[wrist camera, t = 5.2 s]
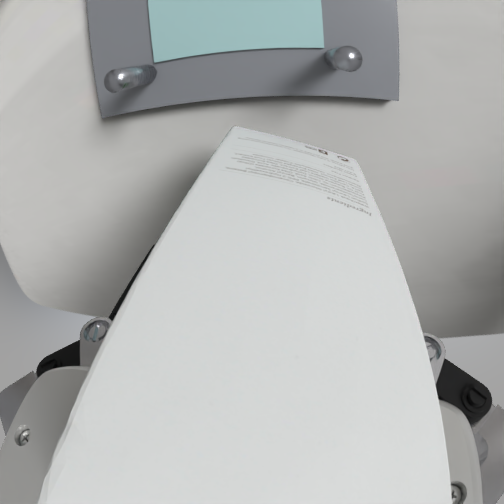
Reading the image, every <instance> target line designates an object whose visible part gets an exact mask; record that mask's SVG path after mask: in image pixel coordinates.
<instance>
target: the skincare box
mask: <svg viewBox="0 0 504 504" xmlns="http://www.w3.org/2000/svg"><path fill="white" fill-rule="evenodd" d="M36 504H452V495H451V483H450V473H449V464H448V456H447V449H446V442H445V435H444V428H443V422H442V416H441V411H440V405H439V400H438V395H437V390H436V385H435V381H434V376H433V372H432V368H431V363H430V359H429V355H428V351H427V348H426V344H425V340H424V336H423V333H422V329H421V326H420V322H419V319H418V316H417V312H416V309H415V306H414V303H413V300H412V297H411V294H410V291H409V288H408V285H407V282H406V279H405V276H404V273H403V271H402V268H401V265H400V262H399V259H398V257H397V254H396V251H395V249H394V246H393V244H392V241H391V238H390V236H389V233H388V231H387V228H386V226H385V224H384V221H383V219H382V216H381V214H380V212H379V209H378V207H377V205H376V202H375V200H374V198H373V195H372V193H371V191H370V189H369V187H368V184H367V182H366V180H365V177H364V175H363V173H362V171H361V169H360V167H359V165H358V163H357V161H356V160H355V159H353V158H350V157H347V156H344V155H341V154H338V153H335V152H332V151H329V150H326V149H323V148H319V147H316V146H313V145H309V144H306V143H302V142H299V141H295V140H292V139H288V138H284V137H280V136H276V135H273V134H269V133H264V132H260V131H256V130H252V129H247V128H243V127H238V126H233V127H232V128H231V130H230V131H229V132H228V134H227V135H226V137H225V138H224V139H223V141H222V142H221V144H220V145H219V147H218V148H217V150H216V151H215V152H214V154H213V155H212V157H211V158H210V160H209V161H208V163H207V164H206V166H205V167H204V169H203V170H202V172H201V173H200V175H199V176H198V178H197V179H196V181H195V182H194V184H193V185H192V187H191V188H190V190H189V192H188V193H187V194H186V196H185V197H184V199H183V201H182V202H181V204H180V206H179V207H178V209H177V210H176V212H175V213H174V215H173V217H172V218H171V220H170V222H169V223H168V225H167V226H166V228H165V230H164V231H163V233H162V234H161V236H160V238H159V239H158V241H157V243H156V244H155V246H154V248H153V249H152V251H151V253H150V255H149V256H148V258H147V260H146V262H145V263H144V265H143V267H142V269H141V270H140V272H139V274H138V275H137V277H136V279H135V281H134V282H133V284H132V286H131V288H130V290H129V292H128V294H127V295H126V297H125V299H124V301H123V303H122V305H121V307H120V308H119V310H118V312H117V314H116V316H115V318H114V320H113V321H112V323H111V325H110V327H109V329H108V331H107V333H106V335H105V337H104V339H103V341H102V344H101V346H100V348H99V350H98V352H97V354H96V356H95V358H94V360H93V362H92V364H91V366H90V368H89V370H88V373H87V375H86V377H85V379H84V381H83V383H82V386H81V388H80V390H79V393H78V395H77V397H76V400H75V402H74V405H73V407H72V410H71V413H70V415H69V418H68V420H67V423H66V426H65V428H64V430H63V432H62V434H61V436H60V438H59V440H58V442H57V444H56V447H55V450H54V452H53V455H52V458H51V461H50V464H49V466H48V469H47V472H46V475H45V478H44V481H43V484H42V487H41V490H40V492H39V495H38V498H37V501H36Z"/></svg>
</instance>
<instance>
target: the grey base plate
mask: <svg viewBox="0 0 504 504" xmlns="http://www.w3.org/2000/svg"><path fill="white" fill-rule="evenodd" d="M87 11H88V24H89V34H90V44H91V52H92V60H93V67H94V74H95V81H96V87H97V93H98V99H99V105H100V110H101V116H102V118H105V117H110V116H114V115H119V114H124V113H129V112H134V111H139V110H145V109H150V108H156V107H162V106H169V105H176V104H183V103H191V102H199V101H208V100H218V99H230V98H243V97H261V96H343V97H361V98H374V99H385V100H395V101H399V32H398V14H397V1H396V0H87ZM342 46H352V47H355V48H356V49H358V50H359V52H360V53H361V55H362V59H363V61H362V65H361V67H360V68H359V69H358V70H356V71H353V72H347V71H343V70H338V69H333V68H331V67H329V66H328V65H327V64H326V63H325V60H324V56H325V53H326V52H327V51H328V50H330V49H333V48H337V47H342ZM147 64H149V65H152V66H154V67H155V68H156V71H157V76H156V78H155V80H154V81H153V82H151V83H148V84H144V85H140V86H137V87H133V88H129V89H126V90H123V91H119V92H116V93H111V92H109V91H108V90H107V89H106V88H105V86H104V78H105V76H106V74H107V73H108V72H109V71H111V70H113V69H119V68H126V67H132V66H139V65H147Z"/></svg>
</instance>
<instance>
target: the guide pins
mask: <svg viewBox="0 0 504 504" xmlns="http://www.w3.org/2000/svg"><path fill="white" fill-rule="evenodd" d="M324 60H325V63H326V64H327V65H328V66H329V67H331V68H333V69H338V70H343V71H347V72H353V71H356V70H358V69H359V68H360V67H361V65H362V61H363V59H362V55H361V53H360V52H359V50H358V49H356V48H355V47H352V46H342V47H337V48H333V49H330V50H328V51H327V52H326V53H325V56H324ZM156 76H157V71H156V68H155V67H154V66H152V65H149V64H147V65H139V66H132V67H126V68H119V69H113V70H111V71H109V72H108V73H107V74H106V76H105V78H104V86H105V88H106V89H107V90H108V91H109V92H111V93H116V92H119V91H123V90H126V89H129V88H133V87H137V86H140V85H144V84H148V83H151V82H153V81H154V80H155V78H156Z"/></svg>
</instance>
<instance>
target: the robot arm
mask: <svg viewBox="0 0 504 504" xmlns="http://www.w3.org/2000/svg"><path fill="white" fill-rule="evenodd" d="M154 246H155V245H153V246H152V248H151V249H150V251H149V252H148V254H147V256H146V257H145V259H144V260H143V262H142V263H141V265H140V267H139V268H138V270H137V271H136V273H135V275H134V276H133V278H132V279H131V281H130V283H129V284H128V286H127V288H126V289H125V291H124V293H123V294H122V296H121V298H120V299H119V301H118V303H117V304H116V306H115V308H114V309H113V311H112V313H111V315H110V316H109V318H107V317H97V318H94V319H91V320H90V321H89V322H87V323H86V324H85V325H84V326H83V328H82V330H81V332H80V340H78V341H76V342H74V343H72V344H70V345H68V346H66V347H64V348H62V349H60V350H58V351H56V352H54V353H53V354H50V355H49V356H47V357H45V358H44V359H43V360H42V361H41V362H40V363H39V365H38V367H37V371H36V373H34V371H32V372H30V373H29V374H27V375H26V376H24V377H23V378H21V379H19V380H18V381H16V382H15V383H13V384H12V385H10V386H8V387H7V388H5V389H4V390H3V391H2V392H1V393H0V418H1V421H2V425H3V428H4V431H5V435H6V438H5V441H4V443H3V445H2V448H1V450H0V504H36V501H37V498H38V495H39V492H40V490H41V487H42V484H43V481H44V478H45V475H46V472H47V469H48V466H49V464H50V461H51V458H52V455H53V452H54V450H55V447H56V444H57V442H58V440H59V438H60V436H61V434H62V432H63V430H64V428H65V426H66V423H67V420H68V418H69V415H70V413H71V410H72V407H73V405H74V402H75V400H76V397H77V395H78V393H79V390H80V388H81V386H82V383H83V381H84V379H85V377H86V375H87V373H88V370H89V368H90V366H91V364H92V362H93V360H94V358H95V356H96V354H97V352H98V350H99V348H100V346H101V344H102V341H103V339H104V337H105V335H106V333H107V331H108V329H109V327H110V325H111V323H112V321H113V320H114V318H115V316H116V314H117V312H118V310H119V308H120V307H121V305H122V303H123V301H124V299H125V297H126V295H127V294H128V292H129V290H130V288H131V286H132V284H133V282H134V281H135V279H136V277H137V275H138V274H139V272H140V270H141V269H142V267H143V265H144V263H145V262H146V260H147V258H148V256H149V255H150V253H151V251H152V249H153V248H154ZM423 336H424V340H425V344H426V348H427V351H428V355H429V359H430V363H431V368H432V372H433V376H434V381H435V385H436V390H437V395H438V400H439V405H440V411H441V416H442V422H443V428H444V435H445V442H446V449H447V456H448V464H449V473H450V483H451V495H452V504H496V503H497V501H498V500H499V499H500V497H501V496H502V494H503V493H504V409H502V407H500V406H499V405H497V406H496V407H495V406H494V405H493V404H492V397H491V393H490V392H489V390H488V388H487V387H485V386H484V385H483V384H482V383H480V382H479V381H477V380H476V379H474V378H473V377H471V376H470V375H469V374H467V373H466V372H464V371H463V370H461V369H460V368H458V367H457V366H455V365H454V364H453V363H451V362H450V361H448V360H446V359H445V347H444V345H443V343H442V342H441V340H440V339H439V338H437V337H436V336H434V335H432V334H429V333H423Z"/></svg>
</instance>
